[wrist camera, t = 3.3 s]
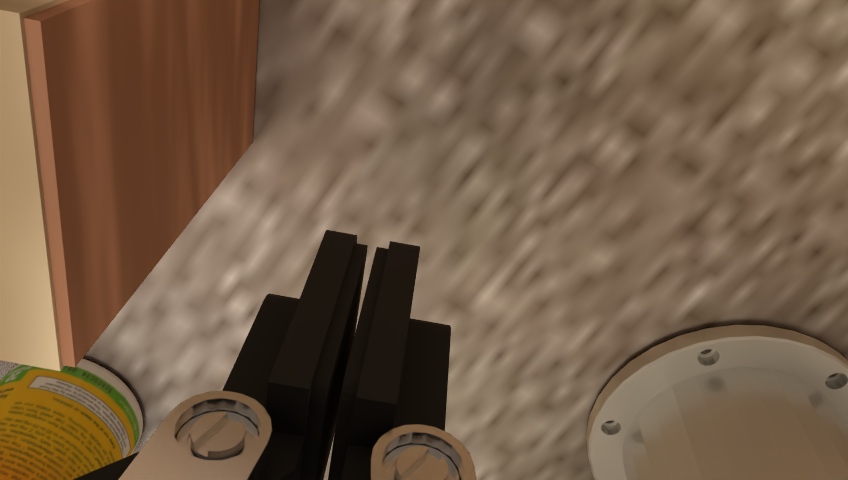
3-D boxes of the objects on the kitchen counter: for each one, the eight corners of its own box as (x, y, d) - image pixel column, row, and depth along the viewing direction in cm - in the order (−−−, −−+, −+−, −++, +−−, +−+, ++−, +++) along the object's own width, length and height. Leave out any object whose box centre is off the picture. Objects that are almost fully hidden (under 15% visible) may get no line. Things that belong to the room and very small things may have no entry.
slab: (263, -73, 24) (36, 17, 12) (253, 143, 28) (73, 373, 16) (191, -87, 24) (-109, -11, 12) (190, 131, 28) (-37, 353, 16)
